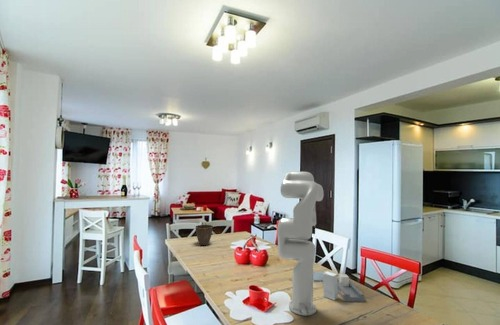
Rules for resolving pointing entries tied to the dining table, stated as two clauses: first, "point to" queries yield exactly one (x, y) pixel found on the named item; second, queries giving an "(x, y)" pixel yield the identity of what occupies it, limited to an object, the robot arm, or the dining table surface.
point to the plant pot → (204, 234)
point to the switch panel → (350, 292)
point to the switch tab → (344, 279)
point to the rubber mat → (318, 276)
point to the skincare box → (330, 285)
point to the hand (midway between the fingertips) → (308, 235)
